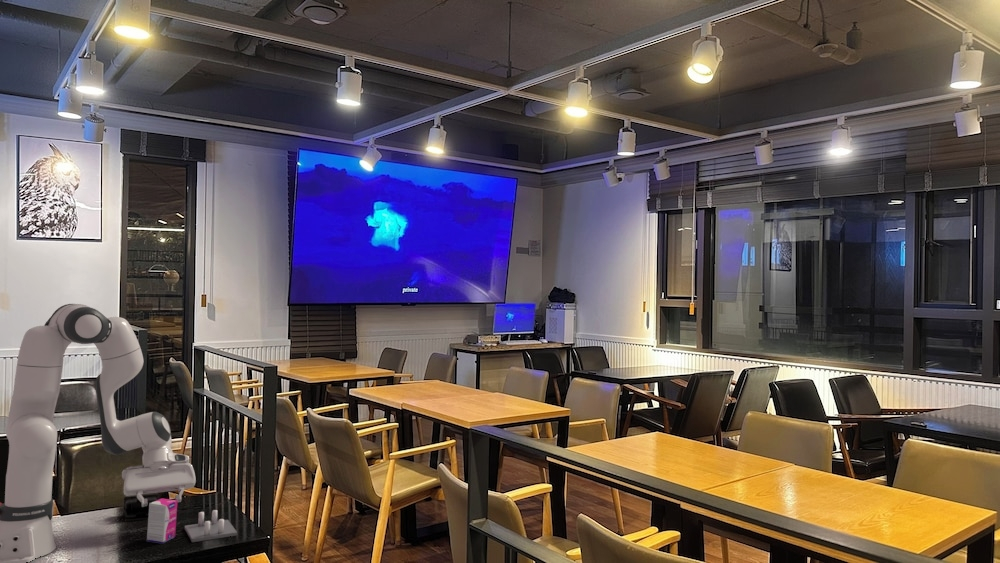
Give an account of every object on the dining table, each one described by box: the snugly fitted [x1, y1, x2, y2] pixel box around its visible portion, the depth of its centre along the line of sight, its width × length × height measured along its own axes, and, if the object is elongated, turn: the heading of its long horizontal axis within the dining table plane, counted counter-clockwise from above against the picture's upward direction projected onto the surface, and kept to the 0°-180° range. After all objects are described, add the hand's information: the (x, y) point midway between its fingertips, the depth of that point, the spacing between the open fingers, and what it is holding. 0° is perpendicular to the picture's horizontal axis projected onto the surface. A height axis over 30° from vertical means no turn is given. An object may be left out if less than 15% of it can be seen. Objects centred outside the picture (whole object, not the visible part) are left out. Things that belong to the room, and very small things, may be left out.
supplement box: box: [146, 498, 178, 544], centre depth 213 cm, size 6×6×12 cm
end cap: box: [122, 493, 159, 522], centre depth 233 cm, size 10×7×7 cm
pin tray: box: [184, 509, 238, 543], centre depth 221 cm, size 13×13×5 cm
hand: (161, 503), depth 216 cm, fingers open, 8 cm apart
